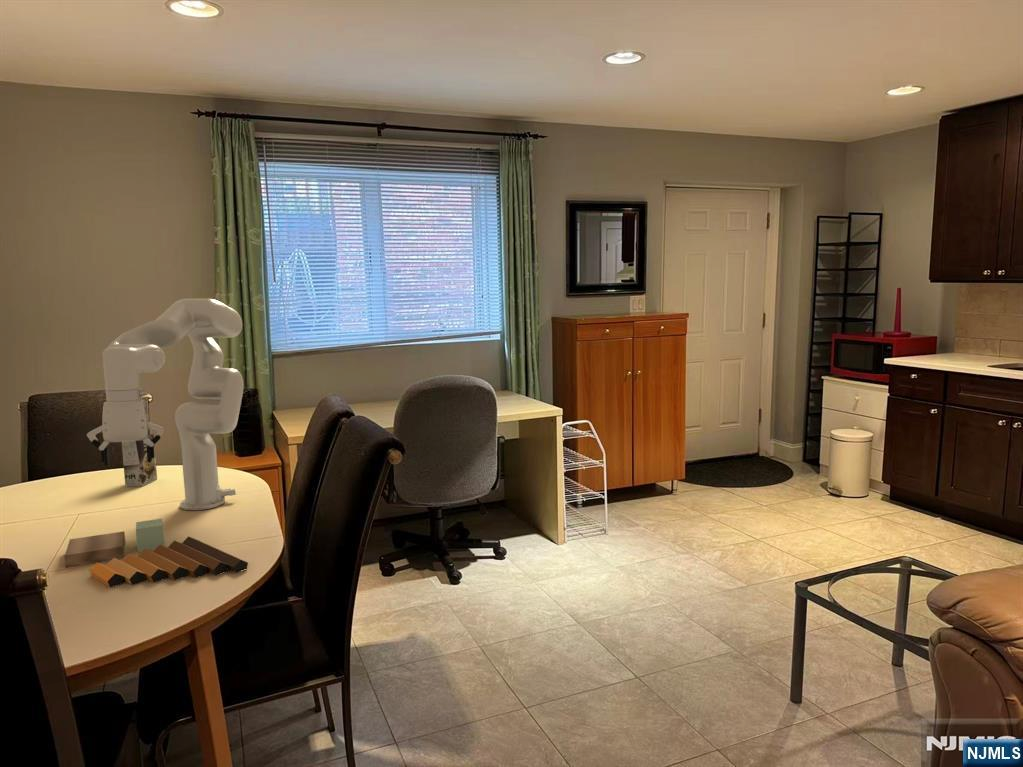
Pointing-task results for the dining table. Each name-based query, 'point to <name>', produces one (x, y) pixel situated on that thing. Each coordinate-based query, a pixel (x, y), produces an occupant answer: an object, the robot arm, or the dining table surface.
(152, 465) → the coffee box
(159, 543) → the sage cube
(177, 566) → the pan flute
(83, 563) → the walnut stand
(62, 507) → the dining table surface
